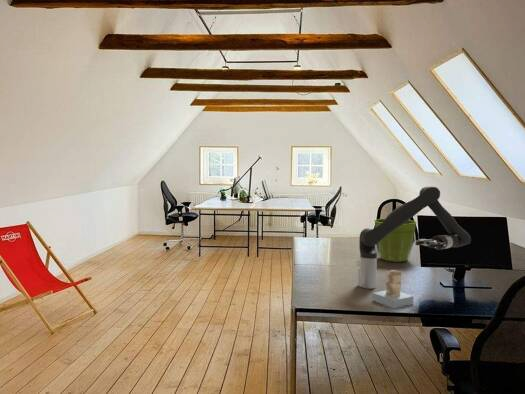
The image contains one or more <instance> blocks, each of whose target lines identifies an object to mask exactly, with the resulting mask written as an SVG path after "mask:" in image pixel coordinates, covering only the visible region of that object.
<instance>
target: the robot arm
mask: <svg viewBox="0 0 525 394" xmlns="http://www.w3.org/2000/svg"><path fill="white" fill-rule="evenodd" d="M440 196H441V191H440V189H439V188H438V187H437V186H432V185H429V186H428V185H427V186H424V187H421V189H420V190H419V195H417V196H416V197H415V198H414V199H411V200H409V201H408V202H405V203H403V204H401V205H400V206H397V207H396V208H394V209H393V210H392V211H391V212H390V213H388V215H387V216H386V217H385V218H384V219H385V220H384V221H383V222H382V223H381V224H380V225H378V226H377V227H375V226H374V228H363V229H362V230H361V232H360V233H359V242H358V243H359V247H358V249H359V253H360V255H359V256H360V257H359V258H360V259H359V269H358V272H357V273H358V277H357V279H358V280H357V283H358V284H357V285H358V286H359V287H360V288H363V289H376V288H377V268H378V267H377V266H378V265H377V264H378V252H377V251H376V245H378V243H379V242H380V241H381V240H382V239H383V238H384V237H385V236H387V235H388V234H389V233H391V232H392V231H394V230H395V229H396V228H398V227H399V226H401V225H402V224H404V223H405V222H407V221H408V220H411V219H413V217H415V216H416V215H418V213H420V211H422V210H423V209H425V208H427V207H428V208H429V209H430V210H431V212H433V214H434V215H435V216H436V218H437V219H438V220H439V222H440V223H441V225H442V226H443V228H444V229H445V230H446V232H447V233H448V234H442V235H435V236H433V237H432V238H429V239H426V238H419V239H417V240H416V241H415V246H424V247H428V248H429V249H435V250H446V249H450V248H460V247H463V246H466V245H469V244H471V241H472V238H471V235H470V234H469V232H467V231H466V230H465V229H463V227H462V226H460V225H459V224H458V222H457V221H456V219H455V218H454V216H453V215H452V214H451V213H450V212H449V211H448V210H447V209H446V208H445V207H444V206H443V205H442V204H441V203H440V201H439V199H440Z"/></svg>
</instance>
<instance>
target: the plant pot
mask: <svg viewBox="0 0 525 394" xmlns="http://www.w3.org/2000/svg"><path fill="white" fill-rule="evenodd" d="M385 219H386V218H378V219H374V228H375V227H377V226H378V225H380V224H381V223H382V222H383V221H384V220H385ZM416 225H417V221H415V220H411V219H409V220H408V221H407V222H405V223H404V224H402V225H401V226H399V227H398V228H396V229H395V230H394V231H392V232H391V233H389V234H388V235H387V236H385V237H384V238H383V239H382V240H381V241H380V242H379V243H378V244H377V245H378V249H379V252H380V259H381V260H384V261H386V262H393V263H394V262H395V263H396V262H397V263H400V262H401V263H402V262H406V261H408V260H409V254H410V251H411V248H412V244H413V241H414V236H415V231H416Z"/></svg>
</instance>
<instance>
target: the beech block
mask: <svg viewBox="0 0 525 394" xmlns="http://www.w3.org/2000/svg"><path fill="white" fill-rule="evenodd" d="M385 284H386V285H385V290H386V294H387V295H390V296H393V297H394V296H399V295H400V292H401V287H402V285H401V284H402V271H400V270H396V269H391V270H386V282H385Z"/></svg>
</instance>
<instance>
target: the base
mask: <svg viewBox="0 0 525 394" xmlns="http://www.w3.org/2000/svg"><path fill="white" fill-rule="evenodd" d="M372 301H373V302H376V303H379V304H381V305H383V306H386V307H389V308H391V309H398V308H401V307H405V306H406V305H407V306H410V305H413V304H414V296H413V295H411V294H408V293H405V292H402V291H400V295H399V296H394V297H393V296H390V295H387V294H386V289H385V290H381V291H377V292H372Z"/></svg>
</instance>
